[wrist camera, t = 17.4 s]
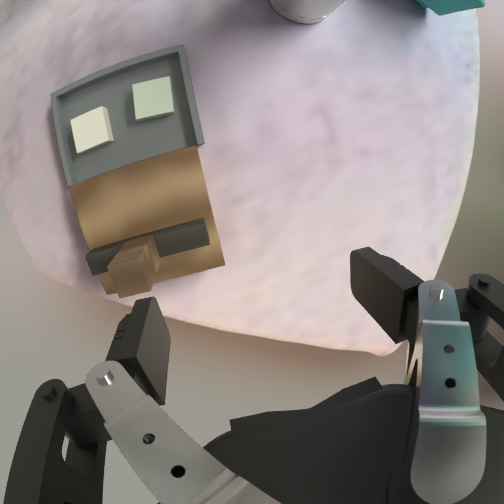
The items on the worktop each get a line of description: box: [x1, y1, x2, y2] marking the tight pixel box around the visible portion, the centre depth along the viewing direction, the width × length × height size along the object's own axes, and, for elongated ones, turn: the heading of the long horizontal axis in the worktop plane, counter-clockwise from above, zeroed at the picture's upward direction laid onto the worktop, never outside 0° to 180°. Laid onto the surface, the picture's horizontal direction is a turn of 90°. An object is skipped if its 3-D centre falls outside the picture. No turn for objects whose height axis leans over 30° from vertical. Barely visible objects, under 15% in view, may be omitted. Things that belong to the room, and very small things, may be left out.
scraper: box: [85, 218, 210, 298], centre depth 26 cm, size 3×14×10 cm, turn 102°
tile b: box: [132, 76, 175, 121], centre depth 28 cm, size 4×4×2 cm
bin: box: [51, 44, 205, 187], centre depth 28 cm, size 13×18×2 cm
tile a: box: [70, 106, 114, 153], centre depth 28 cm, size 4×4×2 cm
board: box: [69, 145, 225, 295], centre depth 32 cm, size 14×16×5 cm
